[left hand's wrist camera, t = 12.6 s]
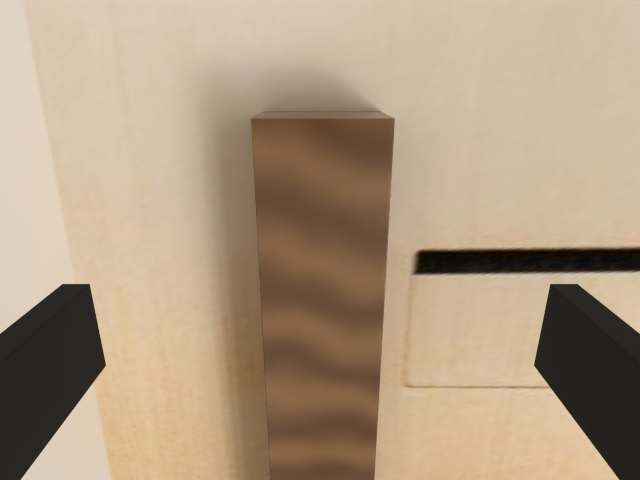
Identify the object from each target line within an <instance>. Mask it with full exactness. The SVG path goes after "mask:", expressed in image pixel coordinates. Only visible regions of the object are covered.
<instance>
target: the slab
mask: <svg viewBox="0 0 640 480" xmlns="http://www.w3.org/2000/svg"><path fill="white" fill-rule="evenodd" d="M251 121H252V140H253V159H254V178H255V196H256V215H257V234H258V253H259V272H260V291H261V310H262V328H263V347H264V366H265V385H266V404H267V423H268V441H269V460H270V479H271V480H374V475H375V457H376V439H377V422H378V404H379V386H380V369H381V351H382V333H383V316H384V298H385V280H386V263H387V245H388V227H389V210H390V192H391V174H392V157H393V139H394V121H395V119H394V118H392V117H390V116H388V115H387V114H385V113H383V112H262V113H260V114H259V115H257V116H255V117H254V118H252V119H251Z"/></svg>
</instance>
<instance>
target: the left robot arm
mask: <svg viewBox="0 0 640 480" xmlns="http://www.w3.org/2000/svg"><path fill="white" fill-rule="evenodd" d="M105 366H106V363H105V358H104V354H103V349H102V344H101V339H100V334H99V329H98V324H97V319H96V314H95V309H94V304H93V299H92V294H91V289H90V284H62V285H61V286H60V287H58V288H57V289H56V290H55V291H53V292H52V293H51V294H50V295H48V296H47V297H46V298H45V299H43V300H42V301H41V302H40V303H38V304H37V305H36V306H35V307H33V308H32V309H31V310H30V311H28V312H27V313H26V314H25V315H23V316H22V317H21V318H20V319H18V320H17V321H16V322H15V323H13V324H12V325H11V326H10V327H8V328H7V329H6V330H5V331H3V332H2V333H1V334H0V480H21V478H22V477H23V476H24V474H25V473H26V472H27V470H28V469H29V468H30V466H31V465H32V464H33V462H34V461H35V460H36V458H37V457H38V456H39V454H40V453H41V452H42V450H43V449H44V448H45V446H46V445H47V444H48V442H49V441H50V440H51V438H52V437H53V436H54V434H55V433H56V431H57V430H58V429H59V428H60V426H61V425H62V424H63V422H64V421H65V419H66V418H67V417H68V415H69V414H70V413H71V411H72V410H73V409H74V407H75V406H76V405H77V403H78V402H79V401H80V399H81V398H82V397H83V395H84V394H85V393H86V391H87V390H88V389H89V387H90V386H91V385H92V383H93V382H94V381H95V379H96V378H97V377H98V375H99V374H100V373H101V371H102V370H103V369H104V367H105ZM534 366H535V367H536V369H537V370H538V371H539V373H540V374H541V375H542V377H543V378H544V379H545V381H546V382H547V383H548V385H549V386H550V387H551V389H552V390H553V391H554V393H555V394H556V395H557V397H558V398H559V399H560V401H561V402H562V403H563V405H564V406H565V407H566V409H567V410H568V411H569V413H570V414H571V415H572V417H573V418H574V419H575V421H576V422H577V424H578V425H579V426H580V428H581V429H582V430H583V432H584V433H585V434H586V436H587V437H588V438H589V440H590V441H591V442H592V444H593V445H594V446H595V448H596V449H597V450H598V452H599V453H600V454H601V456H602V457H603V458H604V460H605V461H606V462H607V464H608V465H609V466H610V468H611V469H612V470H613V472H614V473H615V474H616V476H617V477H618V478H619V480H640V334H639V333H638V332H637V331H635V330H634V329H633V328H632V327H630V326H629V325H628V324H627V323H625V322H624V321H623V320H622V319H620V318H619V317H618V316H617V315H615V314H614V313H613V312H612V311H610V310H609V309H608V308H607V307H605V306H604V305H603V304H602V303H600V302H599V301H598V300H597V299H595V298H594V297H593V296H592V295H590V294H589V293H588V292H587V291H585V290H584V289H583V288H582V287H580V286H579V285H578V284H550V289H549V294H548V299H547V304H546V309H545V314H544V319H543V324H542V329H541V334H540V339H539V344H538V349H537V354H536V358H535V363H534Z"/></svg>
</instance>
